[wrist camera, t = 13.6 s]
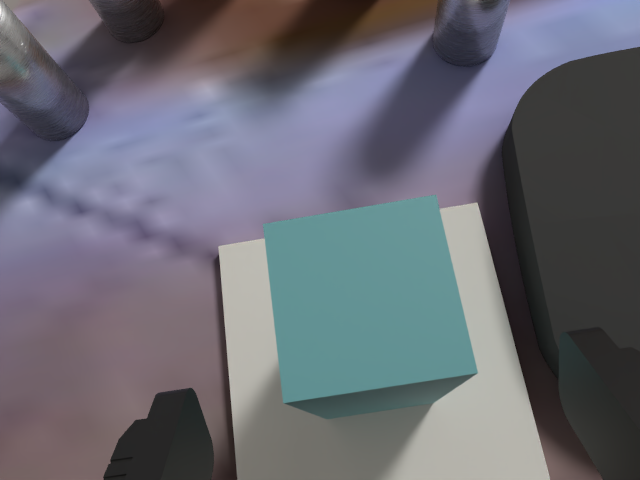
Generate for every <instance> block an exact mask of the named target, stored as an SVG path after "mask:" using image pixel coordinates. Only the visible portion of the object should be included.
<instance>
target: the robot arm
mask: <svg viewBox="0 0 640 480" xmlns="http://www.w3.org/2000/svg"><path fill="white" fill-rule="evenodd" d="M559 396H560V401H561V404H562V408H563V411H564V413H565V415H566V418H567V419H568V421H569V423H570V424H571V426H572V428H573V430H574V431H575V433H576V435H577V436H578V438H579V440H580V441H581V443H582V445H583V446H584V448H585V450H586V451H587V453H588V455H589V456H590V458H591V460H592V461H593V463H594V465H595V466H596V468H597V470H598V471H599V473H600V475H601V476H602V478H603V480H640V351H638V350H636V349H634V348H633V347H627V348H621V349H619V348H618V346H617V345H616V344H615V343H614V342H613V341H612V339H611V338H610V337H609V336H608V335H607V334H606V332H605V331H604V330H603V329H602V328H600V327H594V328H587V329H581V330H574V331H568V332H563V333H561V335H560V339H559ZM213 464H214V453H213V445H212V440H211V437H210V434H209V431H208V428H207V425H206V422H205V419H204V416H203V413H202V410H201V407H200V404H199V401H198V398H197V395H196V393H195V391H194V390H193V389H192V388H187V389H181V390H174V391H167V392H161V393H158V394H157V395H156V396H155V398H154V401H153V403H152V406H151V409H150V412H149V414H148V417H147V419H141V420H135V421H134V423H133V424H132V425H131V426H130V427H129V428H128V429H127V431H126V432H125V433H124V434H123V435H122V436H121V438H120V439H119V440H118V443H117V445H116V448H115V450H114V453H113V455H112V457H111V464H109V465H108V467H107V470H106V472H105V474H104V477H103V478H104V480H211V477H212V472H213Z"/></svg>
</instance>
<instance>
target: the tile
mask: <svg viewBox="0 0 640 480" xmlns="http://www.w3.org/2000/svg"><path fill="white" fill-rule="evenodd" d="M440 213H441V218H442V222H443V226H444V230H445V235H446V239H447V243H448V247H449V252H450V256H451V260H452V264H453V269H454V273H455V277H456V281H457V286H458V290H459V294H460V298H461V303H462V307H463V311H464V315H465V320H466V324H467V328H468V332H469V337H470V341H471V345H472V349H473V354H474V358H475V362H476V366H477V371H478V374H476V375H475V376H473V377H472V378H470V379H469V380H467V381H466V382H464V383H463V384H461V385H460V386H458V387H457V388H455V389H454V390H452V391H451V392H449V393H448V394H446V395H445V396H443V397H442V398H440V399H439V400H437V401H436V402H434V403H431V404H424V405H418V406H411V407H405V408H398V409H392V410H385V411H378V412H372V413H365V414H359V415H352V416H346V417H339V418H333V419H325V418H322V417H319V416H316V415H314V414H311V413H308V412H306V411H303V410H300V409H298V408H295V407H292V406H289V405H287V404H284V403H283V397H282V388H281V379H280V371H279V362H278V353H277V344H276V335H275V326H274V317H273V308H272V299H271V291H270V282H269V273H268V264H267V255H266V246H265V238H264V239H258V240H252V241H246V242H240V243H234V244H229V245H223V246H219V258H220V271H221V283H222V295H223V308H224V320H225V333H226V345H227V357H228V370H229V382H230V395H231V407H232V419H233V432H234V444H235V457H236V469H237V480H550V477H549V473H548V469H547V465H546V462H545V458H544V454H543V450H542V446H541V443H540V439H539V435H538V431H537V427H536V424H535V420H534V416H533V412H532V408H531V405H530V401H529V397H528V393H527V389H526V385H525V382H524V378H523V374H522V370H521V366H520V363H519V359H518V355H517V351H516V347H515V344H514V340H513V336H512V332H511V328H510V325H509V321H508V317H507V313H506V309H505V305H504V302H503V298H502V294H501V290H500V286H499V283H498V279H497V275H496V271H495V267H494V264H493V260H492V256H491V252H490V248H489V244H488V241H487V237H486V233H485V229H484V225H483V222H482V218H481V214H480V210H479V206H478V203H472V204H466V205H460V206H454V207H448V208H442V209H440Z"/></svg>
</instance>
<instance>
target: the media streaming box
mask: <svg viewBox="0 0 640 480" xmlns="http://www.w3.org/2000/svg"><path fill="white" fill-rule="evenodd" d="M502 158H503V167H504V174H505V182H506V189H507V196H508V203H509V209H510V215H511V221H512V227H513V232H514V238H515V243H516V248H517V254H518V259H519V264H520V268H521V273H522V278H523V282H524V287H525V291H526V296H527V300H528V304H529V309H530V313H531V317H532V321H533V325H534V329H535V333H536V337H537V341H538V344H539V348H540V351H541V353H542V355H543V357H544V359H545V361H546V362H547V364H548V366H549V367H550V369H551V370H552V372H553V373H554V375H555V376H556V377H557V378H558V379H559V339H560V335H561V333H563V332H568V331H574V330H581V329H587V328H594V327H600V328H602V329H603V330H604V331H605V332H606V334H607V335H608V336H609V337H610V338H611V339H612V341H613V342H614V343H615V344H616V345H617V346H618V348H619V349H621V348H627V347H633V348H634V349H636V350H638V351H640V47H637V48H631V49H626V50H620V51H615V52H610V53H605V54H600V55H595V56H591V57H586V58H582V59H578V60H574V61H570V62H567V63H565V64H562V65H560V66H558V67H556V68H554V69H553V70H551V71H549V72H548V73H546V74H545V75H543V76H542V77H540V78H539V79H538V80H537V81H536V82H534V83H533V84H532V85H531V86H530V87H529V88H528V90H527V91H526V92H525V93H524V95H523V96H522V98H521V99H520V101H519V103H518V105H517V107H516V109H515V112H514V114H513V117H512V119H511V122H510V124H509V127H508V129H507V132H506V134H505V137H504V141H503V146H502Z"/></svg>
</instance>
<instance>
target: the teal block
mask: <svg viewBox="0 0 640 480" xmlns="http://www.w3.org/2000/svg"><path fill="white" fill-rule="evenodd" d="M263 228H264V237H265V246H266V255H267V264H268V273H269V282H270V291H271V299H272V308H273V317H274V326H275V335H276V344H277V353H278V362H279V371H280V379H281V388H282V397H283V403H284V404H287V405H289V406H292V407H295V408H298V409H300V410H303V411H306V412H308V413H311V414H314V415H316V416H319V417H322V418H325V419H333V418H339V417H346V416H352V415H359V414H365V413H372V412H378V411H385V410H392V409H398V408H405V407H411V406H418V405H424V404H431V403H434V402H436V401H437V400H439V399H440V398H442V397H443V396H445V395H446V394H448V393H449V392H451V391H452V390H454V389H455V388H457V387H458V386H460V385H461V384H463V383H464V382H466V381H467V380H469V379H470V378H472V377H473V376H475V375H476V374H478V371H477V366H476V362H475V358H474V354H473V349H472V345H471V341H470V337H469V332H468V328H467V324H466V320H465V315H464V311H463V307H462V303H461V298H460V294H459V290H458V286H457V281H456V277H455V273H454V269H453V264H452V260H451V256H450V252H449V247H448V243H447V239H446V235H445V230H444V226H443V222H442V218H441V213H440V209H439V205H438V201H437V196H436V195H431V196H425V197H420V198H414V199H408V200H402V201H396V202H390V203H384V204H378V205H373V206H367V207H361V208H355V209H349V210H343V211H337V212H331V213H326V214H320V215H314V216H308V217H302V218H296V219H290V220H284V221H279V222H273V223H267V224H263Z"/></svg>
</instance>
